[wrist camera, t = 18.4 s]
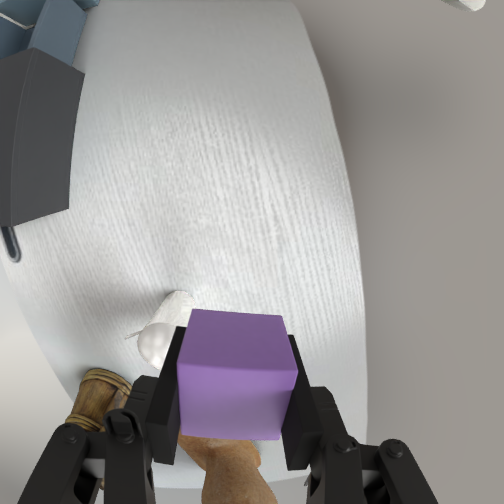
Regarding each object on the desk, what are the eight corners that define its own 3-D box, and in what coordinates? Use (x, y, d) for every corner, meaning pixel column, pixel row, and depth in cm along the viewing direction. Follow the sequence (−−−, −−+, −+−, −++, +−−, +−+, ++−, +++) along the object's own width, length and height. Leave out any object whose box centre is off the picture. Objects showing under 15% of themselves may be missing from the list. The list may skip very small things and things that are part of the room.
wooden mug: (176, 386, 32) (150, 512, 15) (120, 422, 34) (87, 518, 17) (120, 339, 30) (55, 459, 13) (73, 385, 32) (21, 476, 15)
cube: (192, 307, 14) (176, 362, 10) (282, 314, 14) (299, 371, 10) (191, 376, 15) (180, 435, 11) (269, 381, 16) (279, 440, 11)
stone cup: (278, 458, 38) (290, 534, 23) (209, 469, 38) (206, 542, 24) (252, 403, 33) (260, 503, 19) (168, 417, 34) (150, 507, 19)
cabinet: (8, 90, 21) (-43, 79, 12) (85, 73, 22) (34, 46, 13) (-4, 204, 25) (-56, 219, 15) (68, 208, 26) (11, 227, 16)
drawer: (44, -14, 16) (15, -36, 8) (115, -36, 17) (94, -69, 9) (1, 115, 21) (-42, 110, 13) (70, 103, 22) (25, 88, 14)
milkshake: (170, 270, 28) (141, 318, 18) (211, 303, 29) (201, 363, 20) (145, 299, 29) (112, 354, 19) (184, 331, 30) (167, 393, 20)
